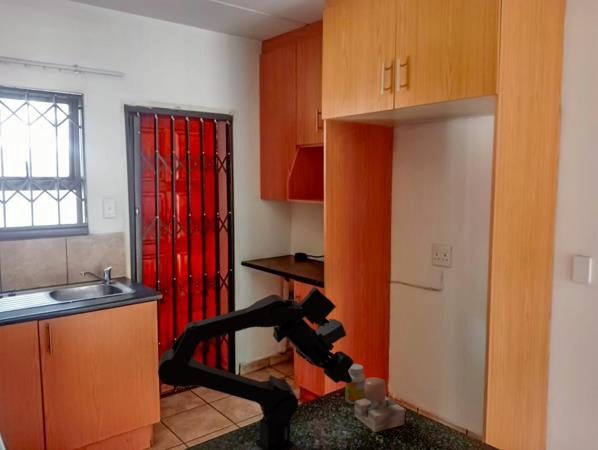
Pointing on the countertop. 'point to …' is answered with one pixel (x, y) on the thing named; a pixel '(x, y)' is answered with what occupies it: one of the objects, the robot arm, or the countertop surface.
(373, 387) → the knob
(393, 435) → the countertop surface
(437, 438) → the countertop surface
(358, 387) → the supplement bottle
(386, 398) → the knob track
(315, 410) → the countertop surface
